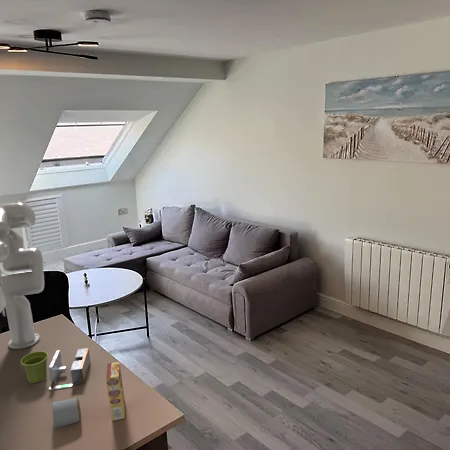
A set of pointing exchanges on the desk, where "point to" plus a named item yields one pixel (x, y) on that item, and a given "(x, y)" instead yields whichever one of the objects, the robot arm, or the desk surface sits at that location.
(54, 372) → the grey flat bar
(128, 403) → the desk surface
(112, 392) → the candy box
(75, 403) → the ceramic mug
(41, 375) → the plant pot
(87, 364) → the grey slotted box
